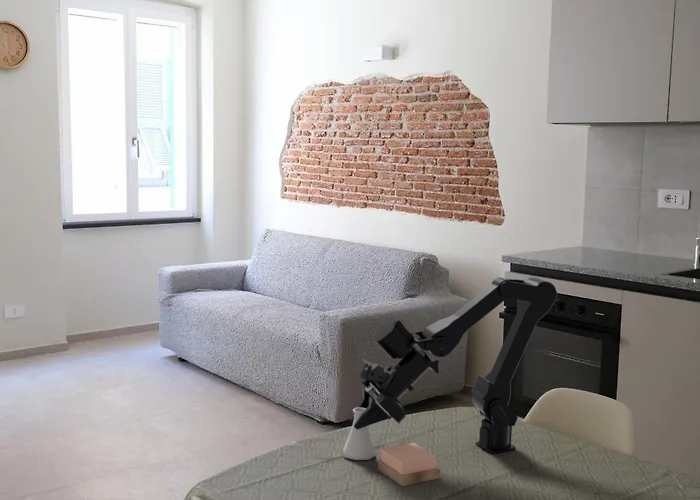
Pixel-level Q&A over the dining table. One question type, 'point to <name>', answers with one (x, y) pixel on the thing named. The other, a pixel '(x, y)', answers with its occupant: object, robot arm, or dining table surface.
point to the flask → (358, 441)
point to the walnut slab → (408, 475)
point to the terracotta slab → (408, 458)
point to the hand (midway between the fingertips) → (353, 425)
